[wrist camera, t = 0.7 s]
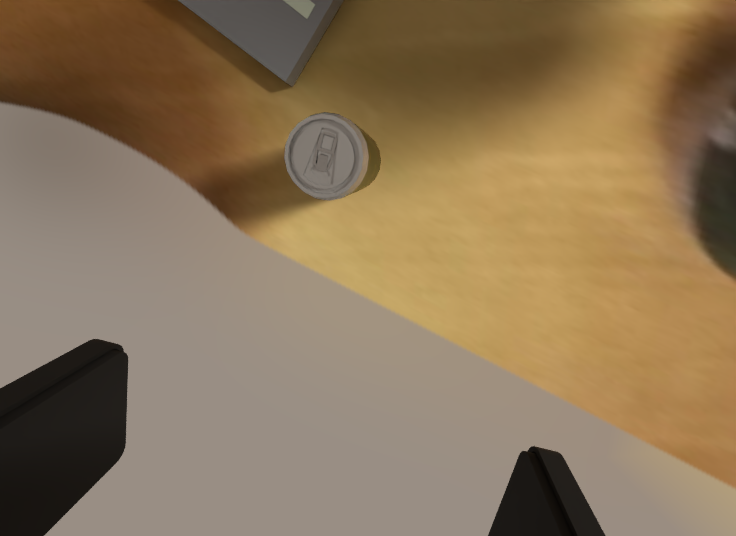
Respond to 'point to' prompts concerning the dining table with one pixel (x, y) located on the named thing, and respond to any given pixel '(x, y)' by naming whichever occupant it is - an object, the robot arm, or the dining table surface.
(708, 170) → the dining table surface
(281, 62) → the panel
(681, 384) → the dining table surface
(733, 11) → the dining table surface
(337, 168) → the beer can
